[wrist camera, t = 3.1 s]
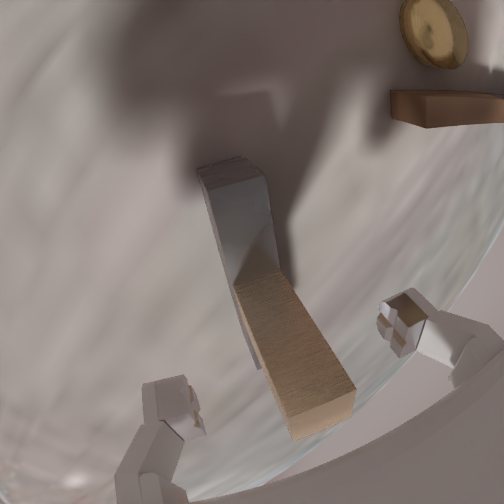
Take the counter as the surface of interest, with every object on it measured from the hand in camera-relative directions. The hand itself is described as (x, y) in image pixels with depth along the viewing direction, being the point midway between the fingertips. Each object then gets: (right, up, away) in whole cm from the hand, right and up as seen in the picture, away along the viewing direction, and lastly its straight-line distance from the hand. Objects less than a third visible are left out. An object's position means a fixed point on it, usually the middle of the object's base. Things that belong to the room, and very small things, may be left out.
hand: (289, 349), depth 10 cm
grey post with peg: (-2, +3, +5) cm, 6 cm away
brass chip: (+8, +15, +1) cm, 17 cm away
